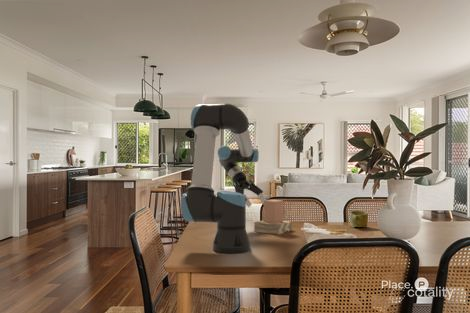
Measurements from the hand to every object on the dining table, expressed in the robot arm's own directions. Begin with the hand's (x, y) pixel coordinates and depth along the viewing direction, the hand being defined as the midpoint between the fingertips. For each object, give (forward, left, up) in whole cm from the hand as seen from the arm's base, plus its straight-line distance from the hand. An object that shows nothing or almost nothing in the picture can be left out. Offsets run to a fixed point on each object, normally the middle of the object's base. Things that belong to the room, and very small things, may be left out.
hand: (258, 204), depth 189 cm
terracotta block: (-3, -10, -8) cm, 13 cm away
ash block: (-3, -9, -13) cm, 16 cm away
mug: (+23, -49, -13) cm, 56 cm away
